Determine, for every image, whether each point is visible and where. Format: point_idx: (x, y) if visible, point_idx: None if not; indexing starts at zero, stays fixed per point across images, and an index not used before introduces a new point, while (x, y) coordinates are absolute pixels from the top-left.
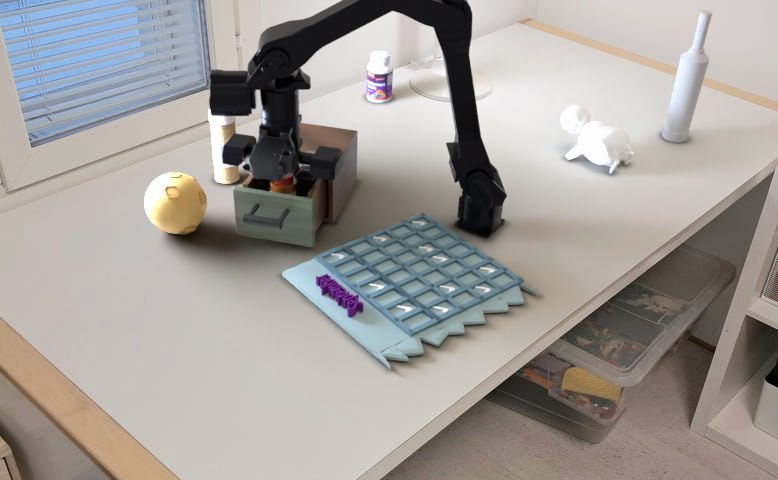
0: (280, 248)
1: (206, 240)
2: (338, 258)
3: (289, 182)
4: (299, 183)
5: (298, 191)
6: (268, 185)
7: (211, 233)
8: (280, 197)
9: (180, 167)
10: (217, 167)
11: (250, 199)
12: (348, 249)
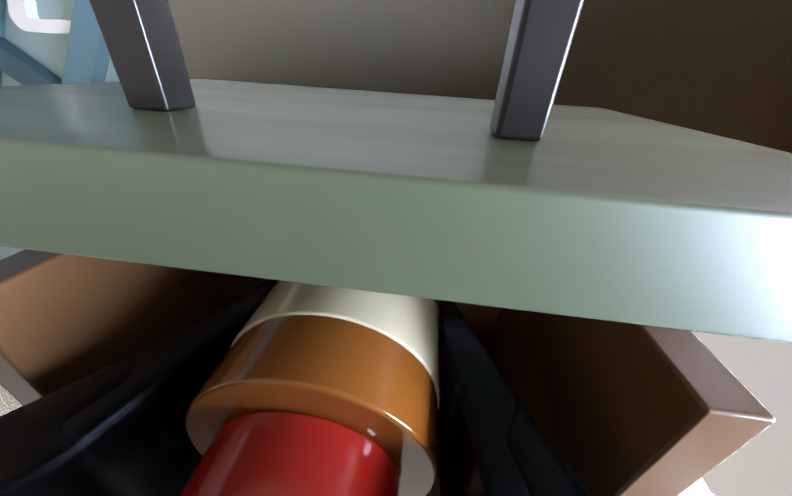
0: (360, 72)
1: (779, 48)
2: (42, 7)
3: (211, 445)
4: (42, 437)
5: (169, 353)
6: (452, 407)
7: (733, 128)
8: (97, 150)
9: (783, 469)
10: (700, 483)
11: (636, 160)
12: (36, 84)
